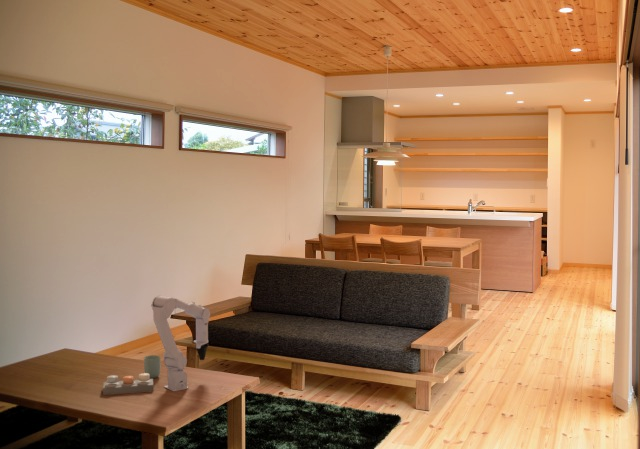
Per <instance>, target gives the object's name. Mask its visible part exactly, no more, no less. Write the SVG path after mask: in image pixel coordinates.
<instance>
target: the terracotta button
mask: <svg viewBox="0 0 640 449" xmlns="http://www.w3.org/2000/svg"><path fill="white" fill-rule="evenodd" d="M134 380H135V377H134V376H133V375H126V376H123V377H122V381H123V383H124V384H132V383H134Z"/></svg>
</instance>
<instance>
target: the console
mask: <svg viewBox="0 0 640 449" xmlns="http://www.w3.org/2000/svg"><path fill="white" fill-rule="evenodd" d="M148 392H149V393H150V392H154V378H150V380H148V381H139V379H134V383H132V384H124V383H123V380H118V382H117V383H112V384H110V383H107V381H103V386H102V395H103V396H107V395H109V396H110V395H120V394H136V393H148Z"/></svg>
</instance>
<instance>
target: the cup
mask: <svg viewBox="0 0 640 449" xmlns="http://www.w3.org/2000/svg"><path fill="white" fill-rule="evenodd" d="M161 360H162V358H161V356H160V355H153V354H152V355H147V356H146V355H145V356H144V358H143V369H144V370H143V372H144V373H148V374H150V379H157V378H159V376H160V375H161V369H162V368H161V367H162V366H161V364H162V363H161V362H162V361H161Z"/></svg>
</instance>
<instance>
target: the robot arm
mask: <svg viewBox="0 0 640 449" xmlns="http://www.w3.org/2000/svg"><path fill="white" fill-rule="evenodd" d="M150 304H151V306H150V307H151V309H152V313H153V322H154V325H155V328H156V330H157V333H158V336H159V338H160V340H161V344H162V347H163V349H164V352H163V354H162V357H163V364H164V366H165V367H166V368H165V369H167V370H166V371H167V374H166V375H167V376H166V377H167V385H164V386H163V388H166V390H167V389H168V390H170V391H172V392H179V391H182V390H183V391H184V390H186V389H189V388H190V387H189V386H188V374H187V372H186V371H185V367H186V366H187V362H188V359H187V357H186V356H185V355H184V353H183V351H181V350H180V349H179V348H178V346H177V344H176V341H175V338H174V335H173V332H172V331H171V330H172V329H171V328H170V325H169V322H168V319H169V318H170V317H171V316H172V314H173V313H174V311H175V309H180V310H183V312H184V313H185V314H186V315H188V316H191V317H193V318H194V319H195V340H193V343H194V344H195V349H196V351H197V354H198V358H199V361H204V360H205V358H206V353H207V350H208V347H210V346H209V321H210V320H209V319H210V317H211V312H210V309H209V308H207V307H203V306H202V305H201V304H196V302H193V301H191V302H188V303H186V302H185V301H183V300H180V299H177V298H175V297H168V296H161V295H156V296H155V297H154V298H153V299H152V301H151V303H150Z"/></svg>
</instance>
